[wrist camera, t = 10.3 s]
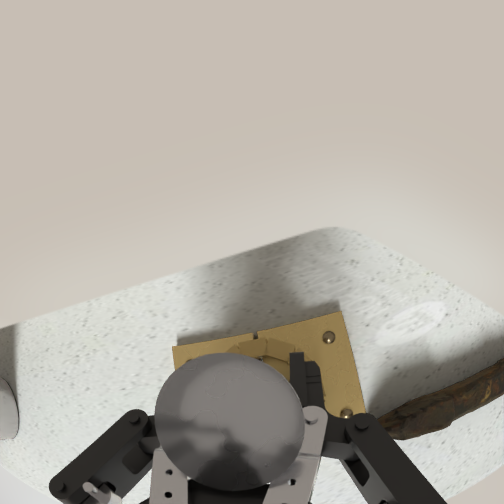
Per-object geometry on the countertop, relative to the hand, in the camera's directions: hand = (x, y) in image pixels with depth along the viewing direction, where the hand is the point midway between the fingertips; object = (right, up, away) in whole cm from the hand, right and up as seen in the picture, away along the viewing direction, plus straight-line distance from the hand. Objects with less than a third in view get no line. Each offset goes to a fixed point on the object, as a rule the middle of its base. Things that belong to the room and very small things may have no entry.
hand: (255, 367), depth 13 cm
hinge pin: (+1, -3, +3) cm, 4 cm away
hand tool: (+18, -7, +3) cm, 20 cm away
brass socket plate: (+1, -5, +6) cm, 8 cm away
